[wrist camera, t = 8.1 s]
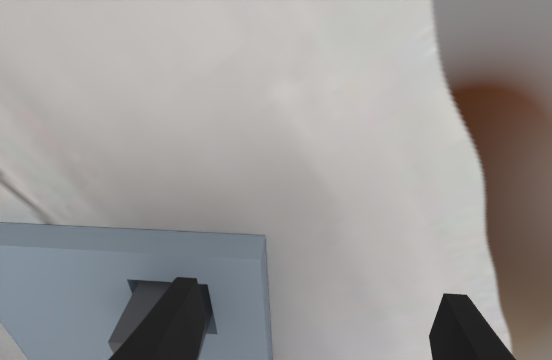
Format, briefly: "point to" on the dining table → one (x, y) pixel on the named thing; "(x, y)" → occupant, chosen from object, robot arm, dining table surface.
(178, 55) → the dining table surface
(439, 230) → the dining table surface
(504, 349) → the robot arm
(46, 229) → the socket plate
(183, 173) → the dining table surface
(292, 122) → the dining table surface
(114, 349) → the block
